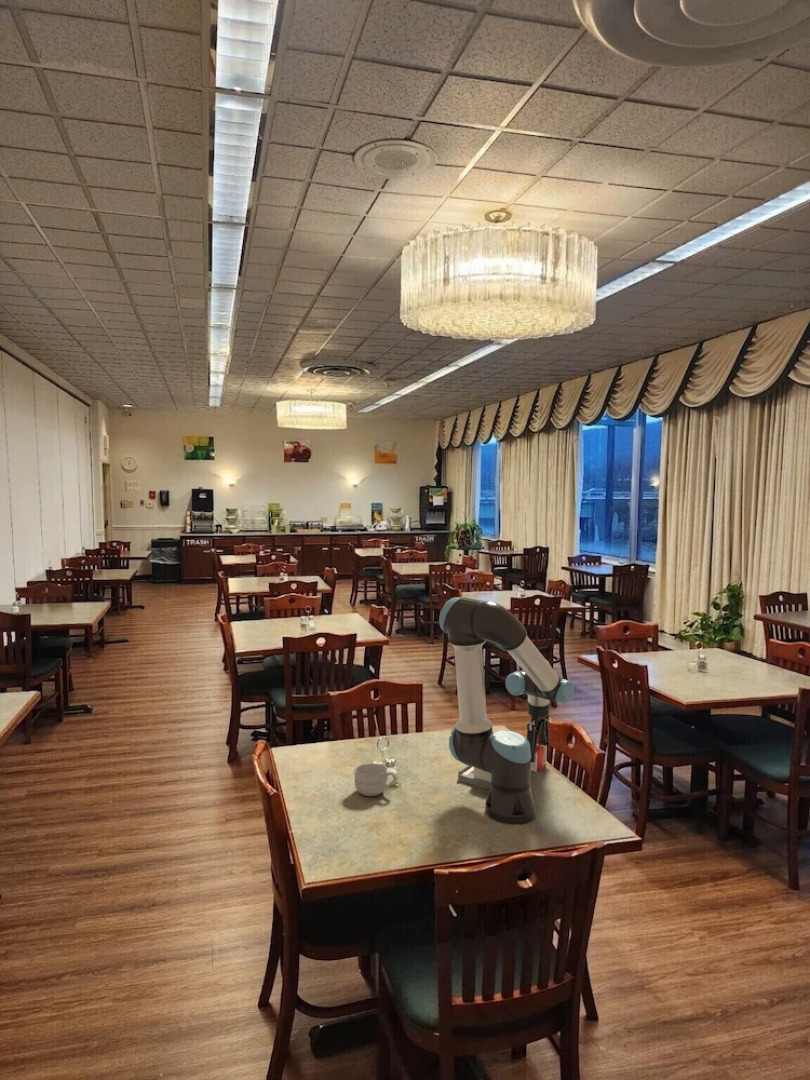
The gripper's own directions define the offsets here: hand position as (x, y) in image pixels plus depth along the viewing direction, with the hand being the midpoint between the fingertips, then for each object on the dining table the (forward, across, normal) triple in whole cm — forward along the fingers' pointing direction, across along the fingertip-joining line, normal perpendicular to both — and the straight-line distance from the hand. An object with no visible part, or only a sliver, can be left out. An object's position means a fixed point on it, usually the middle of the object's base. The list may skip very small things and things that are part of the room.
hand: (537, 766), depth 231 cm
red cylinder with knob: (0, 0, 0) cm, 0 cm away
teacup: (+1, +49, -34) cm, 60 cm away
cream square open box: (-2, +20, -8) cm, 22 cm away
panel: (0, +13, -10) cm, 16 cm away
